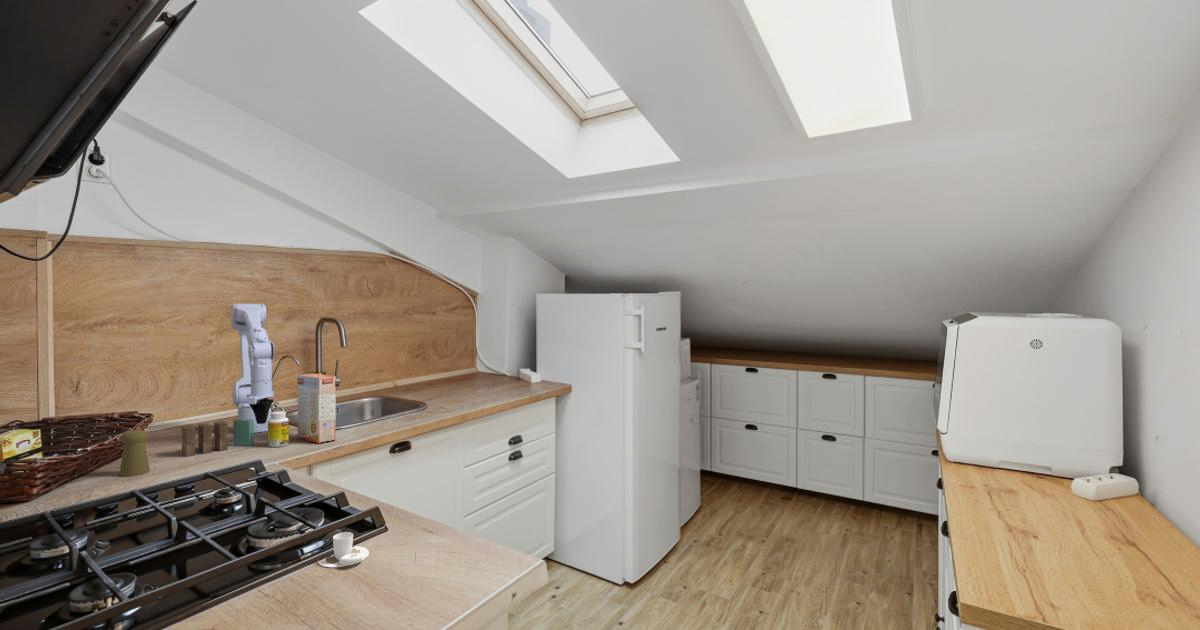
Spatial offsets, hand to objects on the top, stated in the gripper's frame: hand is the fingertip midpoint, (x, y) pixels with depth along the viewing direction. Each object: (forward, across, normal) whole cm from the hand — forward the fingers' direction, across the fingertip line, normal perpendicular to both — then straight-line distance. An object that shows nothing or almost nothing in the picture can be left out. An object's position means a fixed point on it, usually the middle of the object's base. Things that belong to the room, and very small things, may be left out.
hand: (261, 423), depth 174 cm
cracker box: (+6, -1, +16) cm, 17 cm away
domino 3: (+6, +7, -9) cm, 13 cm away
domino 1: (+6, +12, -15) cm, 20 cm away
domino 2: (+6, +9, -12) cm, 16 cm away
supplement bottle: (+6, +5, +6) cm, 10 cm away
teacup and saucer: (+7, +93, +45) cm, 103 cm away
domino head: (+6, +3, -4) cm, 8 cm away
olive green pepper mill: (+6, +29, -19) cm, 35 cm away
